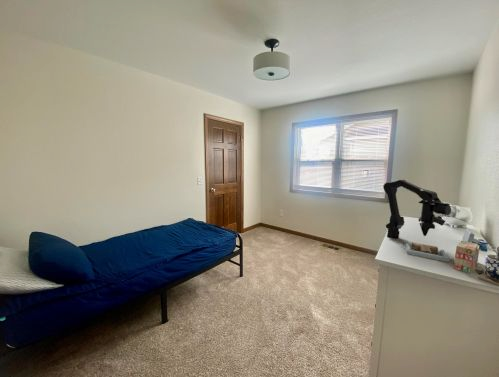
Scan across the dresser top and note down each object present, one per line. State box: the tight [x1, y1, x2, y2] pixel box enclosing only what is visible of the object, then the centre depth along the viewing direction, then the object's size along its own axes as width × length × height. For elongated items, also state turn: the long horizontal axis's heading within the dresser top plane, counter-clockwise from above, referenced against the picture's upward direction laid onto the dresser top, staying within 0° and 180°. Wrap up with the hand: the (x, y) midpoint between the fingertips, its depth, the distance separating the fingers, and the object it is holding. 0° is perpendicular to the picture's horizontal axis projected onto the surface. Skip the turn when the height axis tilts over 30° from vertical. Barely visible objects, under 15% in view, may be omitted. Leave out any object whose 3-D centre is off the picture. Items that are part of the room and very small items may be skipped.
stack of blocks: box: [452, 240, 480, 274], centre depth 109 cm, size 21×6×12 cm, turn 127°
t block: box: [410, 242, 439, 255], centre depth 125 cm, size 12×12×3 cm
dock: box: [405, 242, 450, 263], centre depth 123 cm, size 18×14×2 cm
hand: (424, 235), depth 132 cm, fingers closed
